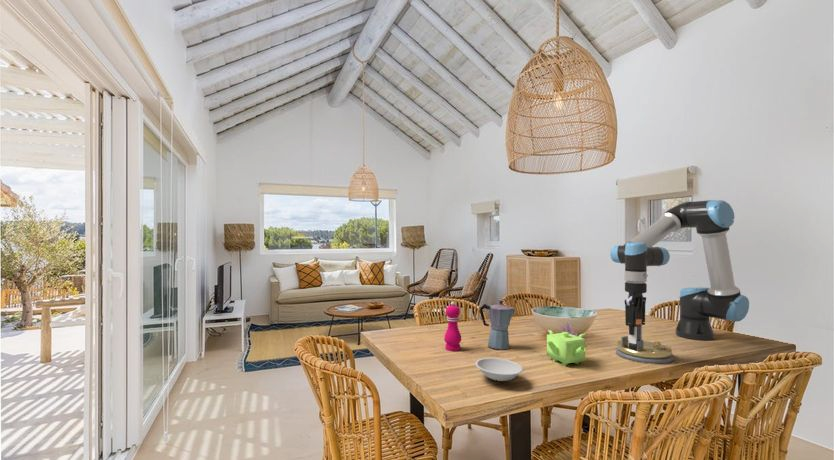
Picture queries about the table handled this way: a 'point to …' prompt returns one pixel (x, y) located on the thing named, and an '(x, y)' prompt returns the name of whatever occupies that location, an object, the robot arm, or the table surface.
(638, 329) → the pin
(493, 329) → the moka pot
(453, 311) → the pepper mill
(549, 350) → the green animal planter
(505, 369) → the dish
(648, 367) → the table surface
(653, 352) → the gold and gray disc
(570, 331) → the lily
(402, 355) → the table surface
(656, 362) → the base plate
